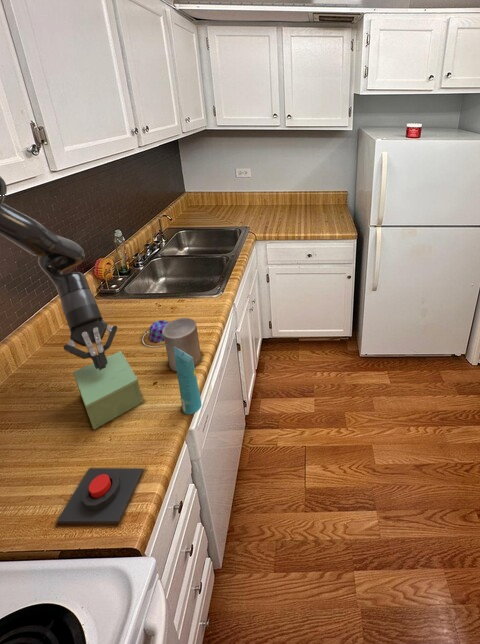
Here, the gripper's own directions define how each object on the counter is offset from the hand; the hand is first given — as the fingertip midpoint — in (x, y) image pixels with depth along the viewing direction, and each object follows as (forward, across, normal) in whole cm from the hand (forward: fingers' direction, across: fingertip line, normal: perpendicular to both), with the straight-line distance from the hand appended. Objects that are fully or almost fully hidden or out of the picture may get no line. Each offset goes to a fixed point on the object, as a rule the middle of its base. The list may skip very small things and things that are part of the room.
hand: (102, 368), depth 87 cm
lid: (+2, 0, +2) cm, 3 cm away
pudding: (-4, +20, +22) cm, 30 cm away
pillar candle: (+8, +21, +9) cm, 24 cm away
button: (+24, -8, -11) cm, 28 cm away
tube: (+21, +15, -3) cm, 26 cm away
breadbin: (+8, 0, +9) cm, 12 cm away
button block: (+26, -8, -9) cm, 29 cm away
